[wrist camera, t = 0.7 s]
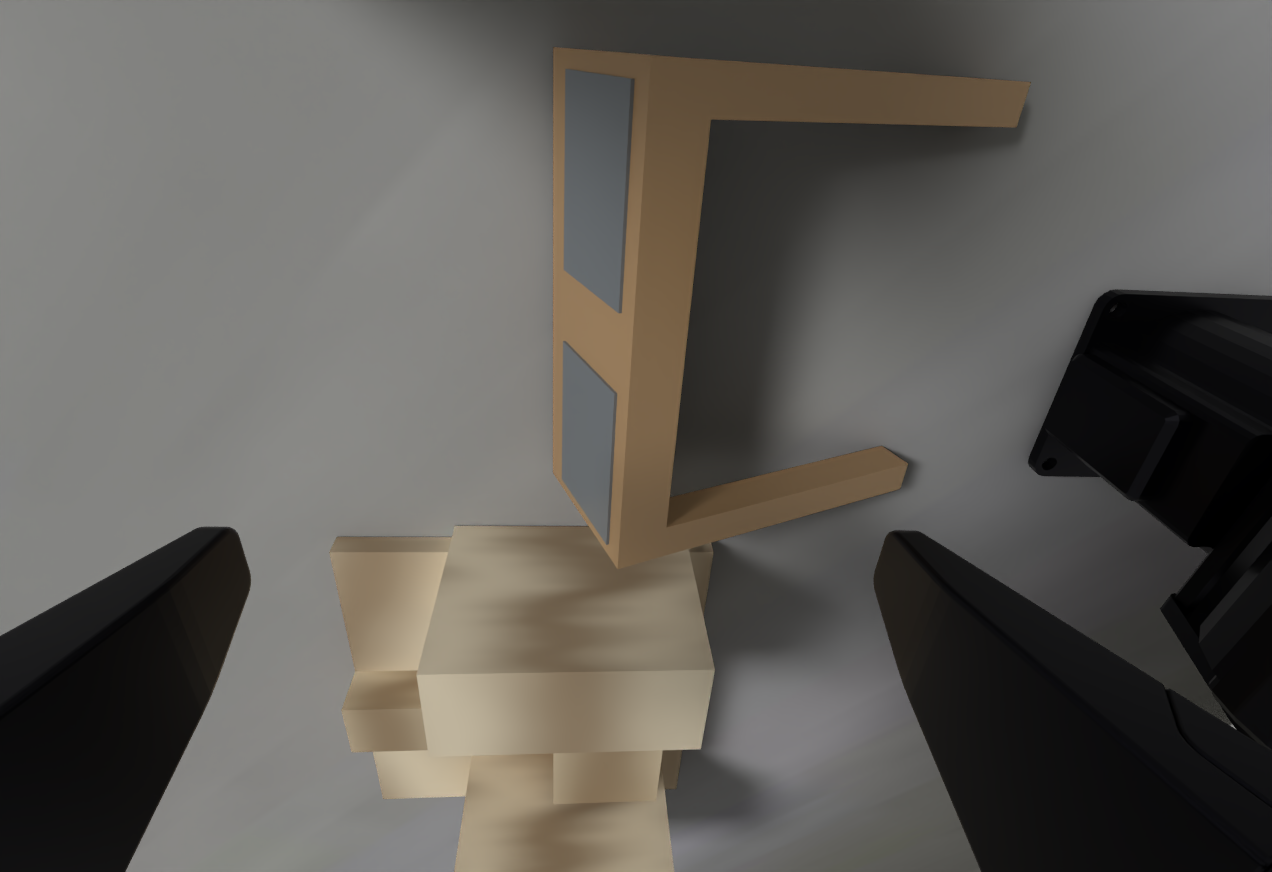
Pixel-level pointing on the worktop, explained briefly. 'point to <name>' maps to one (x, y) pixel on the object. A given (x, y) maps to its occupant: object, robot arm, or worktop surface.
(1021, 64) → the worktop surface
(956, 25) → the worktop surface
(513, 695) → the wooden block stand
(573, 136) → the glasses
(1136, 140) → the worktop surface
